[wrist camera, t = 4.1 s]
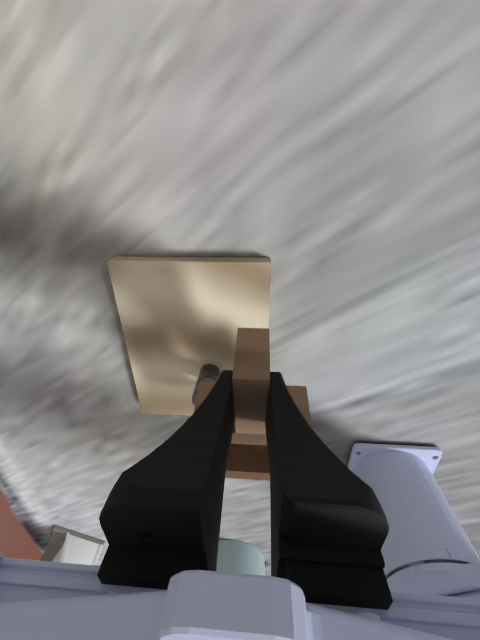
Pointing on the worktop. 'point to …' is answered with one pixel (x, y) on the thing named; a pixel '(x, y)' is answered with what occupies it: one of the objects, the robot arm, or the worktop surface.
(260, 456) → the walnut link
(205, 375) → the post
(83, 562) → the skyscraper
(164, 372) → the birch board
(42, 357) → the worktop surface
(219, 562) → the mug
